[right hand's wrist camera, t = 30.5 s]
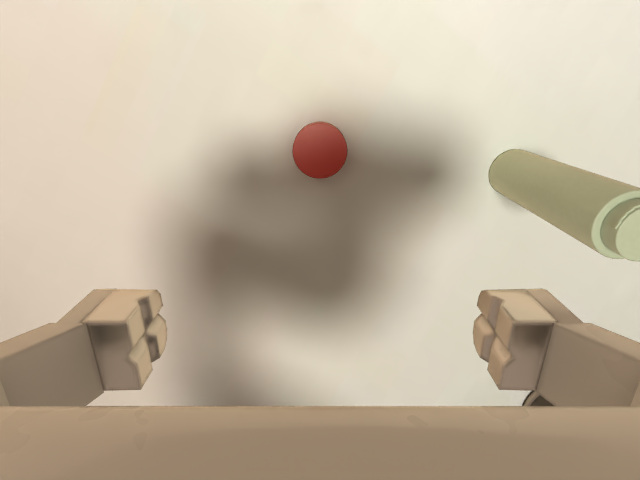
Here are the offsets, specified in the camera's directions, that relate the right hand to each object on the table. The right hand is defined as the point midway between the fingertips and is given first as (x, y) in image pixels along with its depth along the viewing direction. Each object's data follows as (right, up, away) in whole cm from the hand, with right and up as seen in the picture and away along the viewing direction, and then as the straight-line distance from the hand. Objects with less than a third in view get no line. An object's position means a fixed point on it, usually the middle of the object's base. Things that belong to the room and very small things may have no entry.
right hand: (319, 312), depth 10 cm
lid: (0, +10, +24) cm, 26 cm away
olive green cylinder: (+18, +8, +26) cm, 33 cm away
